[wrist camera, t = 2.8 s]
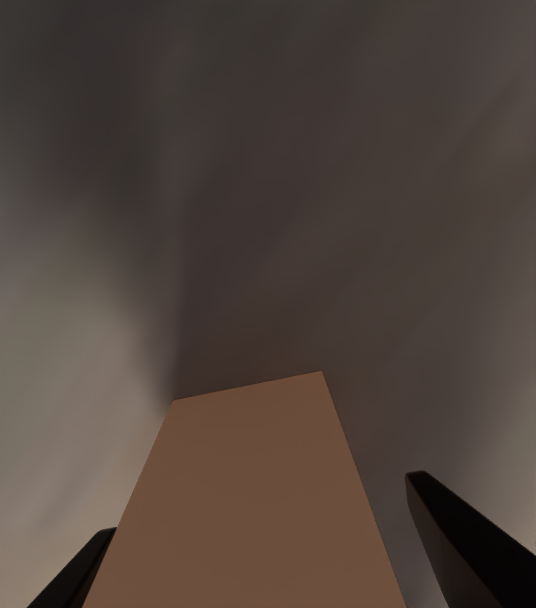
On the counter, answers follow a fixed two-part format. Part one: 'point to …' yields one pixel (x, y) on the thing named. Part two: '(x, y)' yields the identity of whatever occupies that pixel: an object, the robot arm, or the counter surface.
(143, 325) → the counter surface
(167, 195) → the counter surface
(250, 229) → the counter surface
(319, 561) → the tab block
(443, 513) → the robot arm
